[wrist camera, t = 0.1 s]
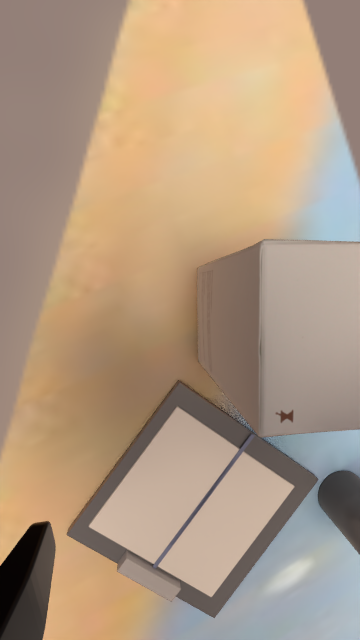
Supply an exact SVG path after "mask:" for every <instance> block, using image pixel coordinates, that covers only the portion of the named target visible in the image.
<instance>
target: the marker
mask: <svg viewBox="0 0 360 640" xmlns="http://www.w3.org/2000/svg"><path fill="white" fill-rule="evenodd" d="M318 501H319V504H320V506H321V508H322V509H323V510H324V512H325V513H326V514H327V515H328V516H329V518H330V519H331V520H332V521H333V523H334V524H335V525H336V526H337V527H338V529H339V530H340V531H341V532H342V534H343V535H344V536H345V537H346V539H347V540H348V541H349V542H350V543H351V545H352V546H353V547H354V548H355V550H356V551H357V552H358V553H359V554H360V478H359V477H358V476H357V475H355V474H354V473H352V472H349V471H338V472H335V473H332V474H331V475H329V476H328V477H327V478H326V479H325V480H324V481H323V482H322V484H321V486H320V488H319V492H318Z"/></svg>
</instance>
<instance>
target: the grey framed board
mask: <svg viewBox="0 0 360 640" xmlns="http://www.w3.org/2000/svg"><path fill="white" fill-rule="evenodd" d="M317 481H318V478H317V477H316V476H315V475H314V474H312V473H311V472H309V471H308V470H306V469H305V468H303V467H302V466H301V465H299V464H298V463H296V462H295V461H293V460H292V459H291V458H289V457H288V456H286V455H285V454H283V453H282V452H281V451H279V450H278V449H276V448H275V447H273V446H272V445H271V444H269V443H268V442H266V441H265V440H263V439H262V438H260V437H259V436H258V435H256V434H255V433H253V432H252V431H250V430H249V429H248V428H246V427H245V426H243V425H242V424H240V423H239V422H238V421H236V420H235V419H233V418H232V417H230V416H229V415H228V414H226V413H225V412H223V411H222V410H220V409H219V408H218V407H216V406H215V405H213V404H212V403H210V402H209V401H207V400H206V399H205V398H203V397H202V396H200V395H199V394H197V393H196V392H195V391H193V390H192V389H190V388H189V387H187V386H186V385H185V384H183V383H182V382H180V381H179V380H178V382H177V383H176V384H175V386H174V387H173V388H172V390H171V391H170V393H169V394H168V395H167V397H166V398H165V399H164V401H163V402H162V403H161V405H160V406H159V407H158V409H157V410H156V411H155V413H154V414H153V415H152V417H151V418H150V420H149V421H148V422H147V424H146V425H145V426H144V428H143V429H142V430H141V432H140V433H139V434H138V436H137V437H136V438H135V440H134V441H133V442H132V444H131V445H130V446H129V448H128V449H127V451H126V452H125V453H124V455H123V456H122V457H121V459H120V460H119V461H118V463H117V464H116V465H115V467H114V468H113V469H112V471H111V472H110V473H109V475H108V476H107V477H106V479H105V480H104V482H103V483H102V484H101V486H100V487H99V488H98V490H97V491H96V492H95V494H94V495H93V496H92V498H91V499H90V500H89V502H88V503H87V504H86V506H85V507H84V509H83V510H82V511H81V513H80V514H79V515H78V517H77V518H76V519H75V521H74V522H73V523H72V525H71V526H70V527H69V529H68V532H67V535H68V536H69V537H71V538H73V539H75V540H76V541H78V542H80V543H82V544H84V545H85V546H87V547H89V548H91V549H92V550H94V551H96V552H98V553H100V554H101V555H103V556H105V557H107V558H108V559H110V560H112V561H114V562H116V563H117V564H118V566H117V572H119V573H121V574H122V575H124V576H126V577H128V578H130V579H131V580H133V581H135V582H137V583H139V584H140V585H142V586H144V587H146V588H148V589H149V590H151V591H153V592H155V593H157V594H158V595H160V596H162V597H164V598H166V599H167V600H169V601H171V602H172V600H173V599H174V598H175V596H176V597H178V598H180V599H181V600H183V601H185V602H187V603H188V604H190V605H192V606H194V607H196V608H197V609H199V610H201V611H203V612H204V613H206V614H208V615H210V616H212V617H213V618H215V617H216V615H217V614H218V613H219V611H220V610H221V609H222V607H223V606H224V605H225V603H226V602H227V601H228V599H229V598H230V597H231V595H232V594H233V593H234V591H235V590H236V589H237V587H238V586H239V585H240V583H241V582H242V581H243V579H244V578H245V577H246V575H247V574H248V573H249V571H250V570H251V569H252V567H253V566H254V565H255V563H256V562H257V561H258V559H259V558H260V557H261V555H262V554H263V553H264V551H265V550H266V549H267V547H268V546H269V545H270V543H271V542H272V541H273V539H274V538H275V537H276V535H277V534H278V533H279V531H280V530H281V529H282V528H283V526H284V525H285V524H286V522H287V521H288V520H289V518H290V517H291V516H292V514H293V513H294V512H295V510H296V509H297V508H298V506H299V505H300V504H301V502H302V501H303V500H304V498H305V497H306V496H307V494H308V493H309V492H310V490H311V489H312V488H313V486H314V485H315V484H316V482H317Z"/></svg>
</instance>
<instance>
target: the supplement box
mask: <svg viewBox="0 0 360 640" xmlns="http://www.w3.org/2000/svg"><path fill="white" fill-rule="evenodd" d="M197 318H198V362H199V363H200V364H201V365H202V366H203V368H204V369H205V370H206V371H207V373H208V374H209V375H210V376H211V378H212V379H213V380H214V381H215V383H216V384H217V385H218V387H219V388H220V389H221V390H222V391H223V393H224V394H225V395H226V396H227V398H228V399H229V400H230V401H231V403H232V404H233V405H234V406H235V408H236V409H237V410H238V411H239V413H240V414H241V415H242V416H243V418H244V419H245V420H246V421H247V423H248V424H249V425H250V426H251V428H252V429H253V430H254V431H255V433H256V434H257V435H258V436H259V437H260V438H262V437H271V436H281V435H291V434H302V433H315V432H328V431H343V430H355V429H360V242H346V241H313V240H273V239H264V240H262V241H260V242H258V243H256V244H255V245H253V246H250V247H248V248H246V249H243V250H241V251H238V252H235V253H233V254H230V255H228V256H225V257H222V258H220V259H217V260H214V261H212V262H209V263H207V264H205V265H203V266H200V267H198V269H197Z"/></svg>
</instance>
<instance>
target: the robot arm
mask: <svg viewBox="0 0 360 640" xmlns="http://www.w3.org/2000/svg"><path fill="white" fill-rule="evenodd" d="M54 558H55V540H54V536H53V531H52V527H51V524H50V522H49V521H45V522H37V523H34V524H32V525H31V526H30V527H29V529H28V530H27V531H26V533H25V534H24V535H23V537H22V538H21V539H20V541H19V542H18V543H17V544H16V546H15V547H14V548H13V550H12V551H11V552H10V554H9V555H8V556H7V558H6V559H5V560H4V562H3V563H2V564H1V566H0V640H42V639H43V634H44V630H45V624H46V617H47V610H48V603H49V595H50V588H51V580H52V573H53V566H54Z"/></svg>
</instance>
